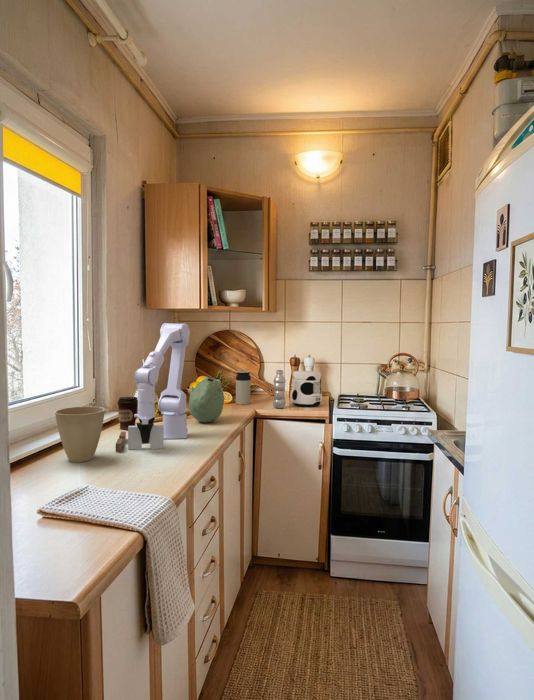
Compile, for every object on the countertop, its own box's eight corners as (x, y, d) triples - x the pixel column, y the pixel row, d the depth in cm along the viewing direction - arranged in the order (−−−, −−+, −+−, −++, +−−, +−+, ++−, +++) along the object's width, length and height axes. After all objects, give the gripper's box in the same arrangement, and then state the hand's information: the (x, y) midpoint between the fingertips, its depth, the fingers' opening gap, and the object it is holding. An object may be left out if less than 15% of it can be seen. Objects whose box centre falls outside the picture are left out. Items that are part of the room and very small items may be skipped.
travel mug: (238, 405, 255) (239, 371, 254) (233, 402, 262) (234, 370, 261) (252, 404, 258) (252, 371, 257) (247, 402, 265) (247, 370, 264)
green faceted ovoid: (182, 425, 204) (182, 379, 202) (196, 416, 222) (196, 374, 221) (217, 427, 201) (218, 380, 200) (228, 418, 220) (229, 375, 218)
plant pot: (108, 451, 162) (108, 405, 161) (100, 465, 147) (100, 414, 146) (61, 453, 159) (61, 406, 158) (49, 466, 145) (49, 415, 144)
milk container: (291, 401, 270) (292, 370, 269) (322, 403, 267) (323, 371, 266) (288, 407, 253) (289, 373, 251) (321, 408, 250) (322, 374, 249)
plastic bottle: (286, 407, 251) (287, 370, 250) (283, 409, 245) (283, 371, 243) (275, 406, 253) (276, 369, 252) (271, 408, 247) (271, 370, 245)
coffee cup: (132, 431, 191) (132, 399, 190) (113, 430, 193) (113, 398, 192) (142, 426, 200) (142, 396, 199) (123, 425, 201) (123, 395, 201)
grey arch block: (163, 447, 169) (163, 425, 168) (163, 448, 167) (163, 426, 167) (128, 448, 166) (128, 425, 166) (128, 449, 165) (128, 426, 164)
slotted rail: (125, 439, 179) (125, 431, 179) (120, 452, 161) (120, 443, 161) (121, 439, 179) (121, 431, 178) (115, 452, 161) (115, 443, 161)
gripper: (135, 398, 172) (135, 435, 173) (132, 405, 158) (132, 446, 159) (155, 398, 173) (155, 435, 174) (154, 405, 159) (154, 445, 160)
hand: (146, 440), depth 167 cm, fingers open, 7 cm apart
